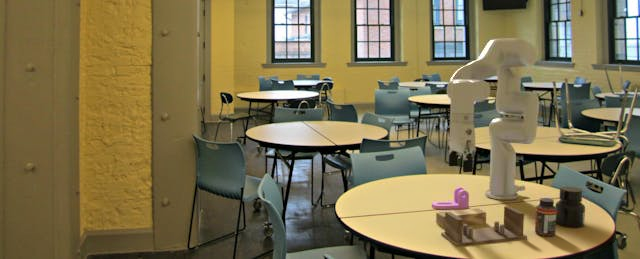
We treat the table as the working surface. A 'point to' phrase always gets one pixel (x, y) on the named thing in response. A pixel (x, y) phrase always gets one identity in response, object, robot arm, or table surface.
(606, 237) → the table surface
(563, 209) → the ink bottle
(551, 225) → the supplement bottle
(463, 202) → the bracket
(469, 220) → the plank
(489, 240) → the holder
